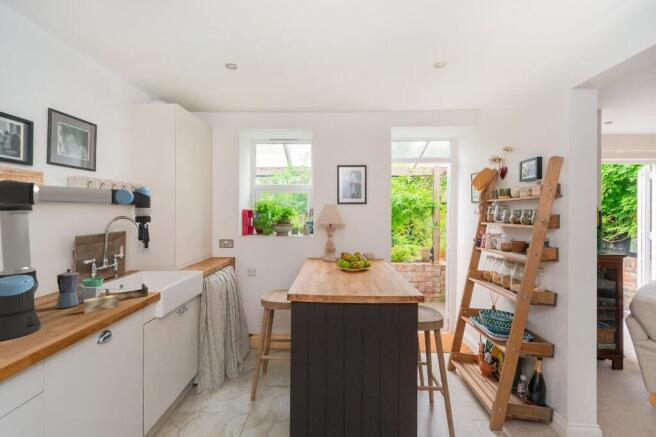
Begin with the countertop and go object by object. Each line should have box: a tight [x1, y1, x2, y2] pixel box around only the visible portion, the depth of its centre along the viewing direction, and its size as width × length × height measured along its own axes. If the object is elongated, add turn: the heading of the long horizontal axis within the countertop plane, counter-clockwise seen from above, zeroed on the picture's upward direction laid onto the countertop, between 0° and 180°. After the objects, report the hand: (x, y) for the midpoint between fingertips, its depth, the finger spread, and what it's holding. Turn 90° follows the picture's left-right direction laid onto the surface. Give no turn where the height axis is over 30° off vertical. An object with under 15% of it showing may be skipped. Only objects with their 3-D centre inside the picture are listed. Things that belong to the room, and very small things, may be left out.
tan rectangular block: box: [82, 294, 120, 315], centre depth 147 cm, size 14×5×6 cm, turn 132°
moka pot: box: [56, 268, 80, 309], centre depth 152 cm, size 10×15×20 cm, turn 20°
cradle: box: [105, 282, 149, 302], centre depth 168 cm, size 19×14×5 cm
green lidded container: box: [81, 276, 104, 291], centre depth 174 cm, size 15×10×10 cm
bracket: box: [77, 283, 102, 304], centre depth 161 cm, size 11×4×10 cm, turn 100°
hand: (143, 252), depth 160 cm, fingers open, 13 cm apart
